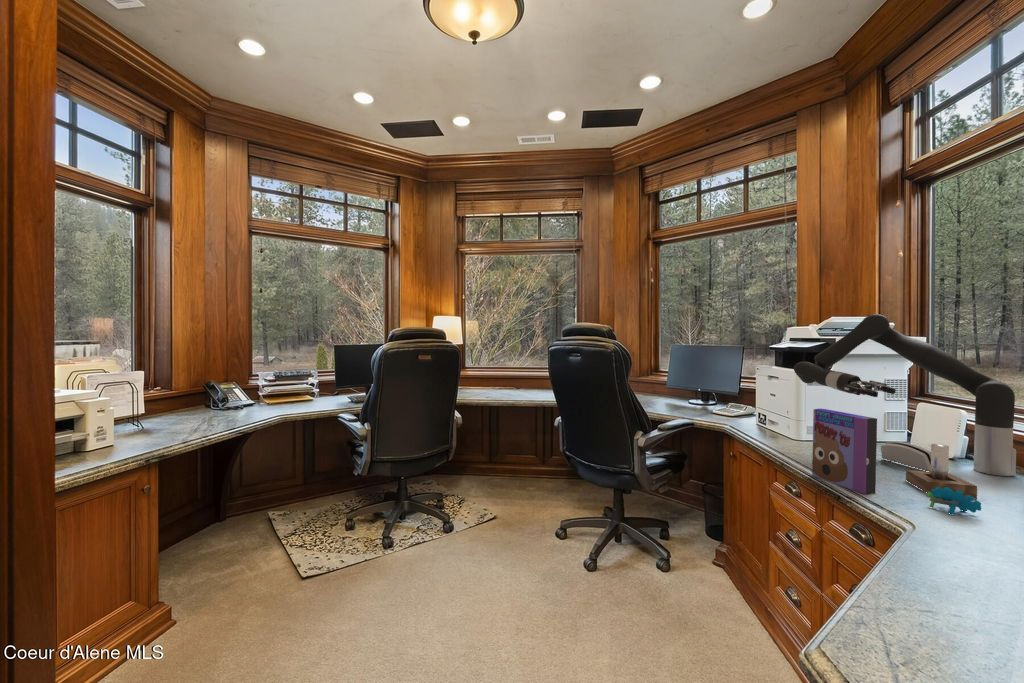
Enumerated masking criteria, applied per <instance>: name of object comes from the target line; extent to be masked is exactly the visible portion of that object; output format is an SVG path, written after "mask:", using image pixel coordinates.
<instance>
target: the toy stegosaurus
mask: <svg viewBox="0 0 1024 683" xmlns="http://www.w3.org/2000/svg"><path fill="white" fill-rule="evenodd" d="M931 492H932V493H931ZM931 492H928V493H926V497H927V498H929V501H930V504H929V507H933V508H934V506H935V504H939V505H944V506H948V508H949V510H948V511H947V512H948V513H950V514H953V515H954V514H955V511H956V508H958V509H959V511H961V510H963V511H967V512H968V511H970V512H971V513H974V514H975V513H977V511H979V512H980V511H982V503H981V502H980V501H979V500H975V499H974V497H973V496H971V495H967V497H964V496H963V495H962V494H963V492H962V491H960V490H956V493H955V492H953V491H952V490H951V488H949V487H945V488H944V489H942V488H940V487H936V490H935V489H932V491H931ZM963 511H962V512H963ZM948 513H947V514H948ZM950 514H949V515H950Z"/></svg>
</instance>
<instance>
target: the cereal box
mask: <svg viewBox="0 0 1024 683" xmlns="http://www.w3.org/2000/svg"><path fill="white" fill-rule="evenodd" d="M812 419H813V420H812V421H813V423H812V425H813V426H812V427H813V428H812V466H811V468H812V471H811V472H812V473H811V476H812V477H814V478H816V479H819V480H822V481H825V482H827V483H831V484H833V485H836V486H839V487H841V488H844V489H847V490H850V491H853V492H856V493H858V494H862V495H872V494H871V493H873V494H876V485H877V481H876V480H877V479H876V478H877V441H878V440H877V439H878V433H877V432H878V418H875V417H871V416H867V415H866V416H865V415H860V414H854V413H849V412H844V411H837V410H833V409H828V408H815V409H813V417H812Z"/></svg>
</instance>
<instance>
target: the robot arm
mask: <svg viewBox="0 0 1024 683" xmlns="http://www.w3.org/2000/svg"><path fill="white" fill-rule="evenodd" d="M890 325H891V323H890V320H889V318H888V317H886V316H885V315H883V314H879V313H878V314H877V313H874V314H870V315H867V316H866V317H864V318H863V319H862V320H861V321H860V322H859V323H858V324H857V325H856V326H855V327H854V328H852V330H850V331H849V332H848V333H847V334H845V335H844V336H843V337H841V338H840V339H839V340H837V341H836V342H834V343H832V344H831V345H829V346H827V348H825V349H823V350H822V351H821V352H819V353H817V354H816V355H815V356H814V362H815V363H812V362H810V361H799V362H797V363H796V364H794V367H793V371H794V373H795V374H796V376H797V377H798V378H799V379H800V380H801V381H802V382H803V383H805V384H813V383H815V382H816V383H817V384H819V385H820V386H825V387H828V388H831V389H833V390H836V391H841V392H843V393H847V394H853V395H856V396H861V395H862V396H869V397H873V398H878V396H879V392H882V393H887V394H891V395H894V394H896V388H895V387H892V386H888V383H886V382H885V383H884V382H881V381H875V380H869V381H867V380H862V379H861V378H860V377H859V376H858V375H856V374H851V373H846V372H842V371H837V370H832V369H830V368H831V367H832V366H834V365H835V364H838V362H840V361H842V359H844V358H845V357H846V356H848V355H849V354H850V353H851V352H852V351H853V350H855V349H856V348H857V347H859V346H860V345H862V344H863V343H864V342H866V341H868V340H871V341H873V342H875V343H877V344H880V345H881V346H884V347H886V348H888V349H889V350H891V351H893V352H895V353H896V354H898V355H899V356H901V357H902V358H904V359H906V360H907V361H910V362H911V363H913V364H914V365H916V366H918V367H919V368H921V369H923V370H925V371H926V372H929V373H930V374H932V375H935V376H937V377H939V378H941V379H944V380H946V381H948V382H952V383H954V384H955V385H957V386H959V387H961V388H962V389H964V390H965V391H967V392H968V393H970V394H971V395H973V396H974V397H975V402H974V403H975V405H974V406H975V407H974V408H975V409H974V411H975V413H974V448H973V470H975V471H976V472H980V473H982V474H983V473H984V474H987V475H993V476H999V477H1000V476H1001V477H1011V476H1012V477H1013V476H1014V477H1016V472H1017V471H1016V469H1017V449H1016V448H1014V422H1015V406H1016V405H1015V404H1016V403H1015V402H1016V396H1015V392H1014V390H1013V389H1012V387H1011V386H1010V385H1008V384H1006V383H1004V382H1002V381H999V380H997V379H994V378H992V377H989V376H987V375H985V374H983V373H981V372H979V371H977V370H975V369H973V368H971V367H970V366H968V365H966V364H965V363H964V362H963V361H962V360H961V361H960V360H959V359H958V358H956V357H954V356H953V355H951V354H950V353H948V352H946V351H945V350H942V349H941V348H939V347H937V346H935V345H933V344H931V343H928V342H925V341H923V340H919V339H916V338H914V337H913V338H912V337H910V336H907V335H905V334H902V332H899V331H897V330H896V329H895V328H892V327H891V326H890Z"/></svg>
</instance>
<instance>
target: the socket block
mask: <svg viewBox="0 0 1024 683" xmlns="http://www.w3.org/2000/svg"><path fill="white" fill-rule="evenodd" d="M906 480H907V481H908V482H910V483H911V484H913V485H915V486H917V487H918V488H920V489H922V490H923V491H925V492H927V493H928V492H931V491H932V489H935V490H936V487H940V488H942V489H944V488H945V487H949V488H951V490H952V491H953V492H955V493H956V490H960V491H962V492H963V494H962V495H963V496H964V497H967V495H971V496H973V497H974V498H975V499H974V500H977V499H978V485H976V484H975V483H972V482H969V481H967V480H966V479H963V478H961V477H959V476H957V475H955V474H952V473H950V472H948V481H945V480H934V479H932V478H931V472H926V471H921V470H915V469H913V470H912V469H906V470H905V481H906ZM908 482H907V483H908ZM911 484H910V485H911ZM913 485H912V486H913ZM915 486H914V487H915ZM918 488H917V489H918ZM920 489H919V490H920ZM922 490H921V491H922ZM923 491H922V492H923ZM925 492H924V493H925ZM927 493H926V494H927ZM931 493H932V492H931Z"/></svg>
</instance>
